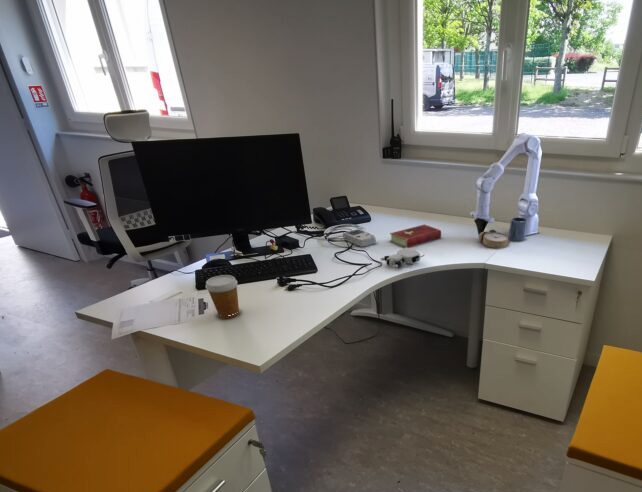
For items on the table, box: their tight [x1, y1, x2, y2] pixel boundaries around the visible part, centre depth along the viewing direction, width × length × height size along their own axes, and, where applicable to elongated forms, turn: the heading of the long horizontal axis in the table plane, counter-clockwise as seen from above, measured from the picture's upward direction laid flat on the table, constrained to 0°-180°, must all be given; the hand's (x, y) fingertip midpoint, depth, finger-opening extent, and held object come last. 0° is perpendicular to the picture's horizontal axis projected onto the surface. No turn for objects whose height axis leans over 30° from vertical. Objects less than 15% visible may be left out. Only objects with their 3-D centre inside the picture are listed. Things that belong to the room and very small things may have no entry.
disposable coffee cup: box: [205, 274, 240, 320], centre depth 145 cm, size 10×10×12 cm
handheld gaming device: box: [342, 228, 377, 248], centre depth 208 cm, size 9×15×4 cm, turn 41°
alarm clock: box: [477, 229, 511, 249], centre depth 207 cm, size 11×5×15 cm
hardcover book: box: [389, 223, 442, 248], centre depth 210 cm, size 12×21×4 cm, turn 130°
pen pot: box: [508, 216, 527, 242], centre depth 210 cm, size 7×7×9 cm
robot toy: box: [380, 247, 425, 268], centre depth 185 cm, size 12×4×15 cm
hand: (480, 234), depth 213 cm, fingers closed
